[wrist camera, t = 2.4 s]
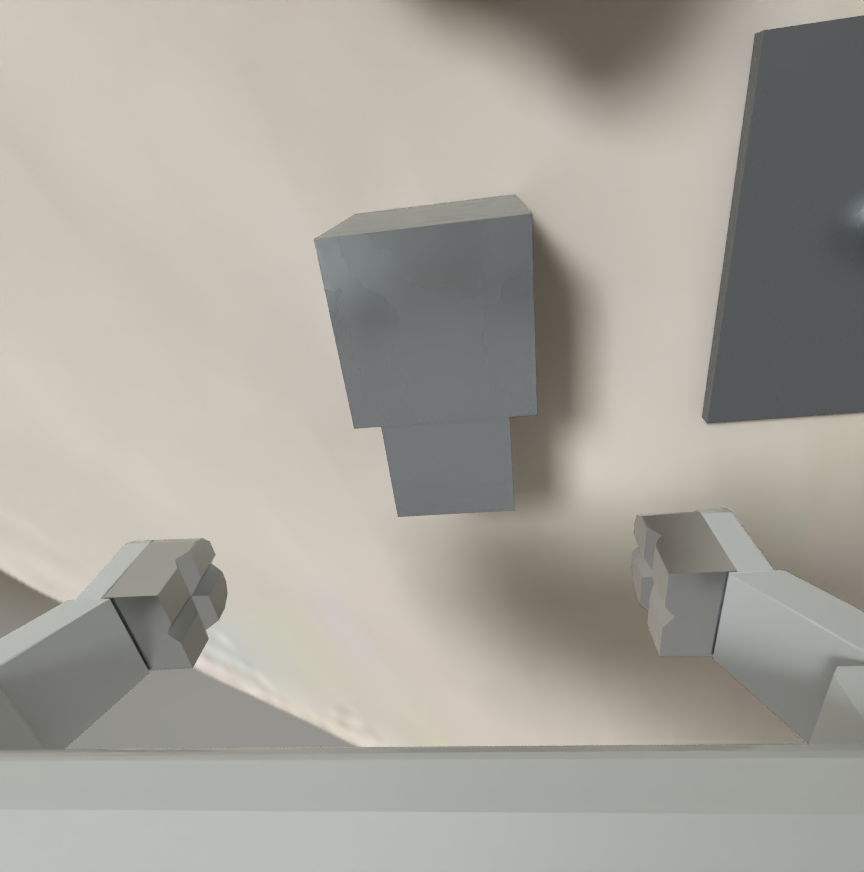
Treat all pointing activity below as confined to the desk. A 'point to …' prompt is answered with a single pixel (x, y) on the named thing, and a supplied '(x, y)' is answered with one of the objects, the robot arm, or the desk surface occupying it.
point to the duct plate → (795, 233)
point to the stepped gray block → (437, 343)
